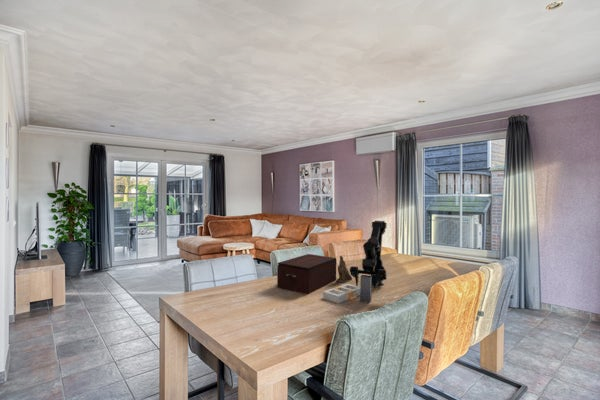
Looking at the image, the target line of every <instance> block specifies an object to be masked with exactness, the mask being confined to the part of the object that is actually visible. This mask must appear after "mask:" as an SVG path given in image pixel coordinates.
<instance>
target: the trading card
mask: <svg viewBox="0 0 600 400" xmlns="http://www.w3.org/2000/svg"><path fill="white" fill-rule="evenodd" d="M333 307H336V308H339V309H341V307H339V306H336V305H335V306H334V305H332V306H330V307H328V308H327V309H324V310H322V311H320V312H318V313H317V314H316V315H314V316H313V318H314V319H317V318H318V320H321V321H324V320H325V321H324V322H328V323H331V322H332V323H331V324H334V323H336V322H338V321H339V320H340V318H338V319H337V320H335V321H331V320H326V319H323V318H319V317H317V316H318V315H321V314H322V313H324V312H325V311H328V310H330V309H331V308H333ZM342 308H343V307H342ZM343 310H347V311H349V312H350V313H352V312H353V310H350V309H347V308H343ZM345 315H346V314H345ZM345 315H343V316H344V317H345Z"/></svg>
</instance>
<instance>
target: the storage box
mask: <svg viewBox="0 0 600 400" xmlns="http://www.w3.org/2000/svg"><path fill="white" fill-rule="evenodd" d="M276 273H277V274H276V275H277V277H276V279H277V281H276V283H277V285H276V286H277V289H280V290H286V291H289V292H295V293H300V294H305V295H310V294H312V293H313V292H316V291H317V290H320V289H322V288H324V287H326V286H328V285H330V284H332V283H334V282H336V280H337V257H330V256H327V255H318V254H311V253H307V254H303V255H301V256H297V257H294V258H290V259H285V260H283V261H279V262H277V272H276Z"/></svg>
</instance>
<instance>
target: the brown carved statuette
mask: <svg viewBox="0 0 600 400" xmlns="http://www.w3.org/2000/svg"><path fill="white" fill-rule="evenodd" d="M343 257H344V256H342V255H340V256H339V265H338V267H337V272H338V276H339V277H338V278H336V281H335V282H336V283H341V284H344V283H346V282H350V281H353V276H351V273H350V270H349V269H348V268H347V265H346V262H345V260H344V258H343Z"/></svg>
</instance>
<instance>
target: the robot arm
mask: <svg viewBox="0 0 600 400" xmlns="http://www.w3.org/2000/svg"><path fill="white" fill-rule="evenodd" d="M387 225H388V224H387V222H386V221H385V220H374V221H372V222H371V228H372V229H371V234H370V238H368V239H367V241H366V242H364V244H363V245H362V248H363V251H364V255H365V258H363V259H362V261H361V262H362V263H361V266H362V267H361V268H362V269H359V266H352V265H351V266H349V274H350V275H351V277H352V278H354V279H355V286H358V287H359V278H360V277H359V275H360V274H361V275H367V276H371V286H374V287H373V288H374V289H376V288H377V287H379V286H384V285H385V283H383V281H384V280H387V270H386V269H385V267H384V266H385V265H384V263H383V260H382V245H383V243H382V242H383V235H384V234H385V233H386V229H387Z"/></svg>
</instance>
